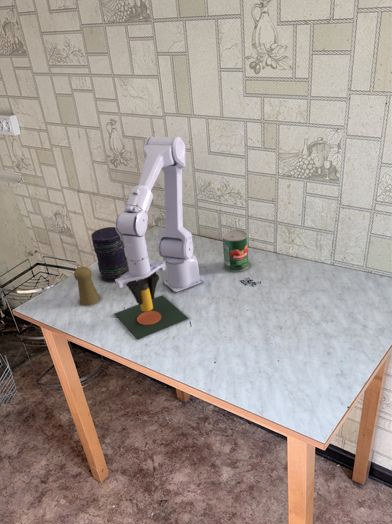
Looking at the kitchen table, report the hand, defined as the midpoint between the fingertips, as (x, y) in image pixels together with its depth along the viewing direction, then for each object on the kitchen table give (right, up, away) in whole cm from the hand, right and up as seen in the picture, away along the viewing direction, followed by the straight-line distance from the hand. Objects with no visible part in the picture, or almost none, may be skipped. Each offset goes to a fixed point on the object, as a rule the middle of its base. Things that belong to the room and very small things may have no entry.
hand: (145, 300), depth 143 cm
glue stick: (0, -2, +2) cm, 3 cm away
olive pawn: (-19, +1, +16) cm, 25 cm away
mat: (+1, -4, +5) cm, 7 cm away
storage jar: (-13, +11, +28) cm, 33 cm away
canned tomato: (+27, +13, +24) cm, 39 cm away
